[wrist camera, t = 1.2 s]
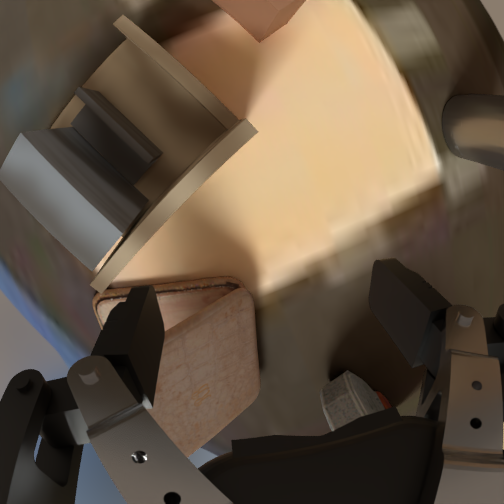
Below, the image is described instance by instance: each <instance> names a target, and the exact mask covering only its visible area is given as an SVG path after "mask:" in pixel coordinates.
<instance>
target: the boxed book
mask: <svg viewBox="0 0 504 504" xmlns="http://www.w3.org/2000/svg"><path fill="white" fill-rule="evenodd" d="M212 1H213V2H214V3H216V4H217V5H218V6H219V7H220V8H222V9H223V10H224V11H225V12H226V13H228V14H229V15H230V16H231V17H232V18H233V19H234V20H236V21H237V22H238V23H239V24H240V25H241V26H242V27H243V28H244V29H245V30H247V31H248V32H249V33H250V34H251V35H252V36H253V37H254V38H255V39H256V40H257V41H258V42H259V43H260V42H261V41H263V40H264V39H265V38H267V37H268V36H270V35H271V34H272V33H274V32H275V31H277V30H278V29H279V28H281V27H282V26H284V25H285V24H287V23H288V21H289V20H290V19H291V18H292V16H293V15H294V14H295V13H296V11H297V10H298V9H299V8H300V7H301V5H302V4H303V3H304V2H305V1H306V0H212Z"/></svg>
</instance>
